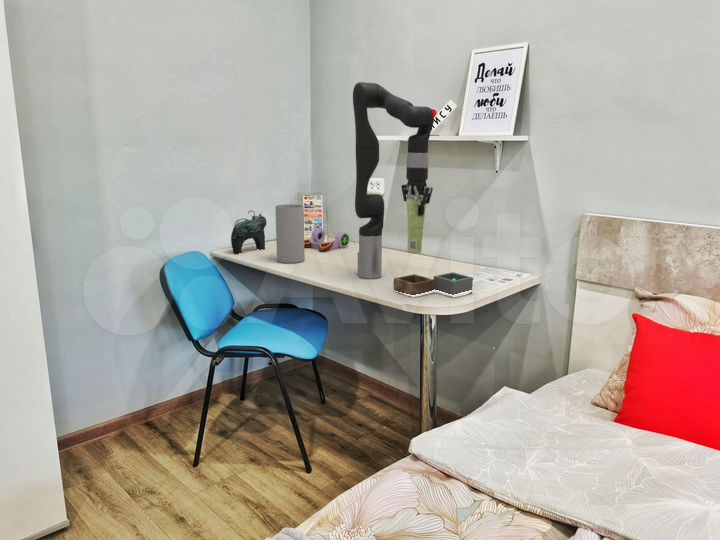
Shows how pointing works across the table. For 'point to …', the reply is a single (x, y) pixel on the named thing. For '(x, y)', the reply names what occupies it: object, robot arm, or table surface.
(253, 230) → the ceramic cat
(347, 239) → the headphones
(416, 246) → the tube
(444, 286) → the socket block
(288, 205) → the cylinder vase
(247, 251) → the table surface
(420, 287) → the brown wooden square frame
